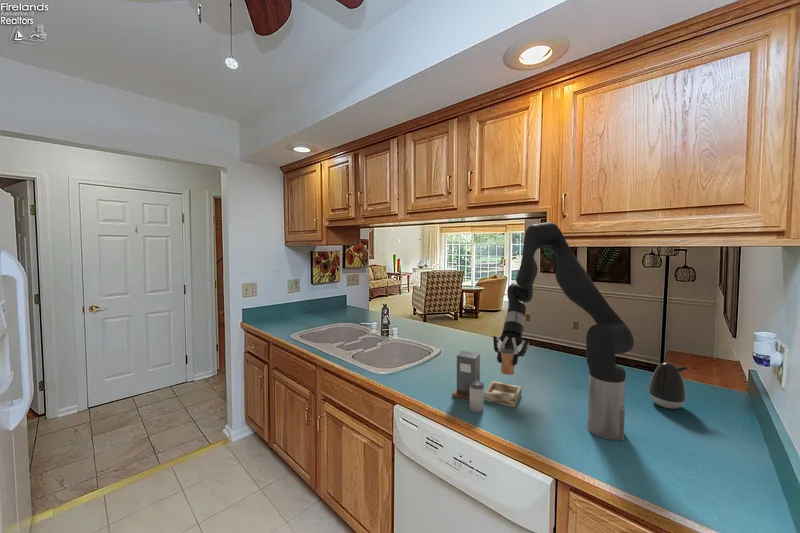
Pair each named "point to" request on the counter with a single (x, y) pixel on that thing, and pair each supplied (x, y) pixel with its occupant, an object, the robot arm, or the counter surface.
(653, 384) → the pump dispenser
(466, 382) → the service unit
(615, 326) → the robot arm
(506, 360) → the cylinder
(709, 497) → the counter surface
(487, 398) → the tray
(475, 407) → the cylinder
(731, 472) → the counter surface
